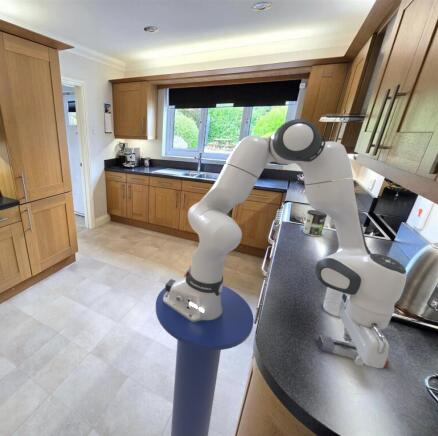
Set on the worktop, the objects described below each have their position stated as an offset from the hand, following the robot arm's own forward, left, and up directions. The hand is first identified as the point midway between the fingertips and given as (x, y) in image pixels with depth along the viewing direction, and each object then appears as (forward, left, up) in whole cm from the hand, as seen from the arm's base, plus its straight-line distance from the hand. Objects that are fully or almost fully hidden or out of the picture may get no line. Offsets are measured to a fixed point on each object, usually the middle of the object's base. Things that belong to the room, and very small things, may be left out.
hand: (352, 350), depth 70 cm
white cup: (-4, +20, -2) cm, 20 cm away
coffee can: (-16, +100, -2) cm, 101 cm away
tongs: (0, 0, -1) cm, 1 cm away
